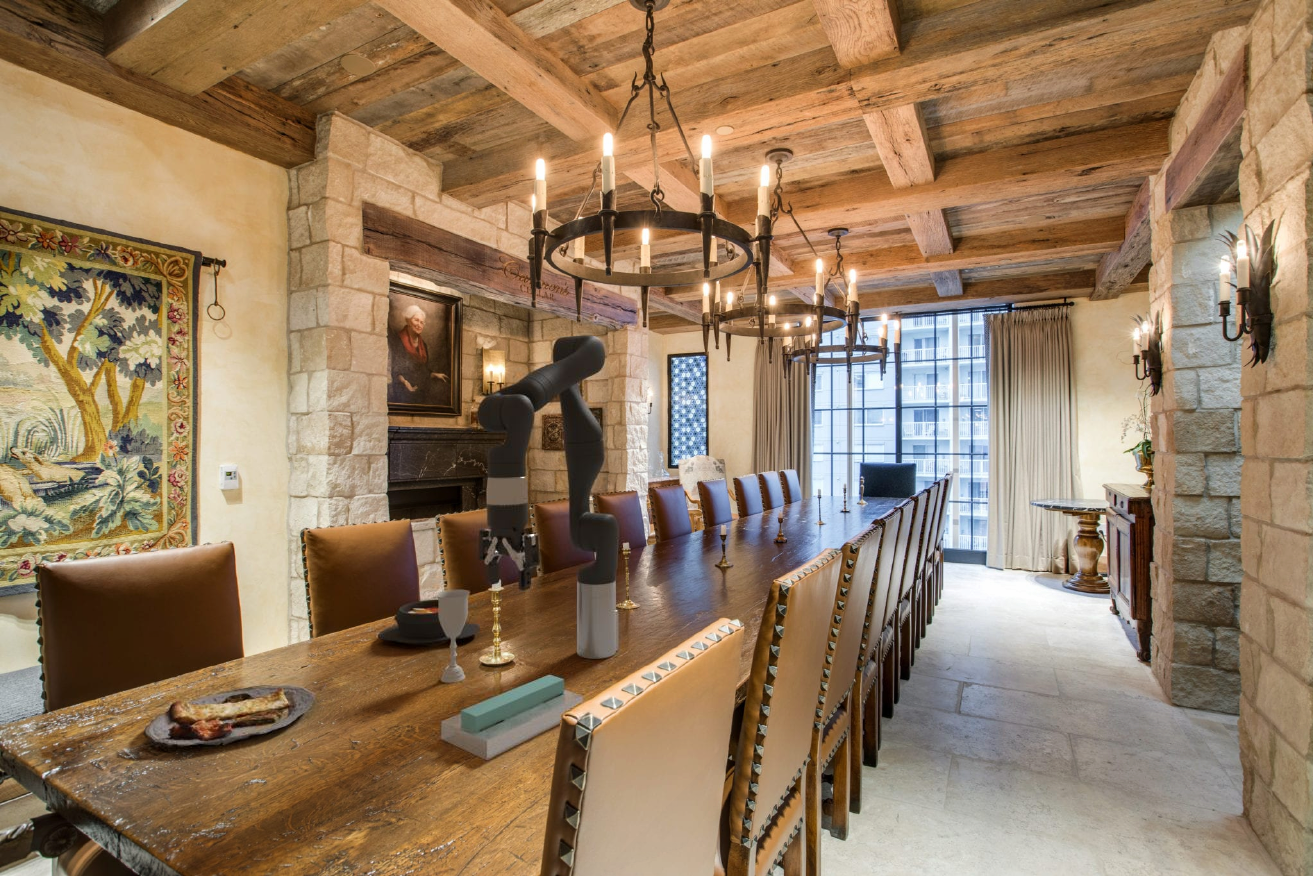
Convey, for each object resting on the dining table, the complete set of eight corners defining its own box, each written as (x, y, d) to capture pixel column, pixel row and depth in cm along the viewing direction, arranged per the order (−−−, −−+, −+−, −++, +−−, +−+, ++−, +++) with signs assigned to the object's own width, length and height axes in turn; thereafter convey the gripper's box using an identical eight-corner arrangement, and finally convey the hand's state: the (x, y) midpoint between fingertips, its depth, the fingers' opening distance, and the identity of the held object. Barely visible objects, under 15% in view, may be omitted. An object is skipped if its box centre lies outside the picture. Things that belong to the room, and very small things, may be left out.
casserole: (486, 627, 170) (486, 596, 170) (470, 649, 151) (470, 615, 151) (393, 629, 168) (393, 598, 168) (365, 652, 150) (365, 617, 150)
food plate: (126, 767, 96) (127, 744, 96) (162, 711, 117) (163, 692, 117) (311, 736, 107) (312, 716, 108) (314, 691, 128) (315, 673, 128)
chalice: (458, 685, 128) (459, 598, 129) (429, 683, 130) (429, 596, 130) (476, 673, 136) (476, 590, 136) (447, 670, 137) (447, 588, 137)
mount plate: (538, 696, 123) (538, 681, 123) (583, 712, 116) (583, 695, 116) (441, 739, 105) (441, 721, 105) (487, 760, 98) (487, 741, 98)
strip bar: (549, 702, 120) (549, 674, 120) (564, 707, 117) (564, 679, 117) (461, 742, 104) (461, 710, 104) (476, 749, 101) (476, 716, 101)
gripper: (548, 500, 116) (550, 587, 116) (497, 497, 124) (498, 577, 124) (518, 505, 110) (519, 596, 110) (466, 500, 118) (468, 585, 118)
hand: (508, 586), depth 117 cm, fingers open, 8 cm apart
